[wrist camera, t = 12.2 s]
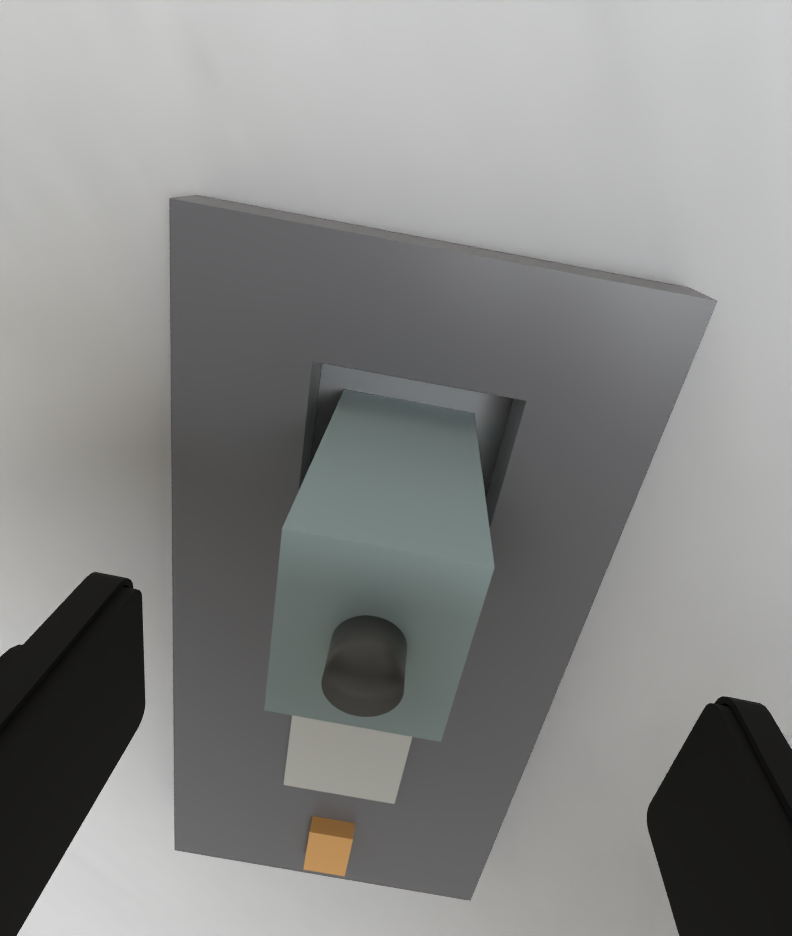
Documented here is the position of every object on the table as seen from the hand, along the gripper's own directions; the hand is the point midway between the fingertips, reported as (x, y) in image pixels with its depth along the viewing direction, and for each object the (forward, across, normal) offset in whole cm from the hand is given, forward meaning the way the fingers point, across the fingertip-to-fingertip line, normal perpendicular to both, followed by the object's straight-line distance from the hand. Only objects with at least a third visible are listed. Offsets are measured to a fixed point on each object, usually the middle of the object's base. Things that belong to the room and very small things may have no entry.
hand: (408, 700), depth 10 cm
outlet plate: (+8, +1, +6) cm, 10 cm away
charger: (+8, +1, 0) cm, 8 cm away
